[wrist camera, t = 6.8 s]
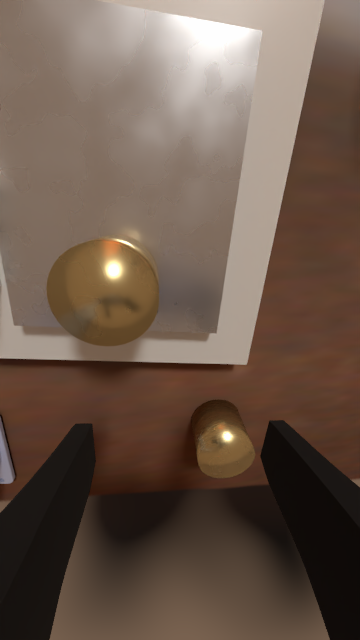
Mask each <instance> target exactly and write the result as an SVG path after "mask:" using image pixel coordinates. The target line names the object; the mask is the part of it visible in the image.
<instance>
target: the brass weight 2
mask: <svg viewBox="0 0 360 640" xmlns="http://www.w3.org/2000/svg"><path fill="white" fill-rule="evenodd" d="M191 423H192V429H193V435H194V441H195V447H196V453H197V459H198V465H199V467H200V469H201V470H202V472H204V473H205V474H206V475H208V476H211V477H215V478H228V477H233V476H236V475H238V474H240V473H242V472H244V471H245V470H246V469H247V468H248V467H249V466H250V465H251V464H252V462H253V460H254V457H255V450H254V448H253V445H252V443H251V441H250V438H249V436H248V433H247V431H246V429H245V426H244V424H243V422H242V419H241V417H240V414H239V412H238V410H237V408H236V407H235V406H234V405H233V404H232V403H230V402H228V401H225V400H211V401H208V402H205V403H203V404H202V405H200V406H199V407H198V408H197V409H196V410H195V411H194V413H193V415H192V419H191Z"/></svg>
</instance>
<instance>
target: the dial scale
mask: <svg viewBox="0 0 360 640" xmlns="http://www.w3.org/2000/svg"><path fill="white" fill-rule="evenodd" d="M97 1H103V2H108V3H114V4H119V5H124V6H130V7H135V8H141V9H146V10H152V11H157V12H163V13H168V14H174V15H179V16H185V17H190V18H195V19H201V20H206V21H212V22H217V23H223V24H228V25H234V26H239V27H245V28H250V29H256V30H261V31H262V38H261V44H260V51H259V57H258V64H257V70H256V77H255V84H254V90H253V97H252V103H251V110H250V117H249V123H248V130H247V136H246V143H245V149H244V156H243V163H242V169H241V176H240V182H239V189H238V195H237V202H236V209H235V215H234V222H233V228H232V235H231V242H230V248H229V255H228V261H227V268H226V274H225V281H224V288H223V294H222V301H221V307H220V314H219V321H218V327H217V334H216V333H191V332H166V331H146V332H145V333H144V334H143V335H141V336H140V337H138V338H137V339H135V340H133V341H131V342H129V343H126V344H123V345H118V346H98V345H93V344H89V343H86V342H84V341H82V340H80V339H78V338H76V337H74V336H73V335H71V334H70V333H69V332H67V331H66V330H65V329H64V328H63V327H39V326H14V323H13V318H12V313H11V307H10V302H9V296H8V291H7V286H6V280H5V275H4V270H3V264H2V259H1V254H0V358H10V359H49V360H88V361H127V362H166V363H205V364H245V365H247V361H248V356H249V352H250V347H251V342H252V338H253V333H254V328H255V324H256V319H257V314H258V310H259V305H260V300H261V296H262V291H263V286H264V282H265V277H266V272H267V268H268V263H269V258H270V254H271V249H272V244H273V240H274V235H275V230H276V226H277V221H278V216H279V212H280V207H281V202H282V197H283V193H284V188H285V183H286V179H287V174H288V169H289V165H290V160H291V155H292V151H293V146H294V141H295V137H296V132H297V127H298V123H299V118H300V113H301V109H302V104H303V99H304V95H305V90H306V85H307V81H308V76H309V71H310V67H311V62H312V57H313V53H314V48H315V43H316V39H317V34H318V29H319V25H320V20H321V15H322V11H323V6H324V1H325V0H97Z"/></svg>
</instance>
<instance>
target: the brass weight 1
mask: <svg viewBox="0 0 360 640" xmlns="http://www.w3.org/2000/svg"><path fill="white" fill-rule="evenodd" d="M46 290H47V299H48V303H49V306H50V309H51V311H52V313H53V315H54V317H55V318H56V320H57V321H58V322H59V324H60V325H61V326H62V327H63V328H64V329H65V330H66V331H67V332H69V333H70V334H71V335H73V336H74V337H76V338H78V339H80V340H82V341H84V342H86V343H89V344H93V345H98V346H118V345H123V344H126V343H129V342H131V341H133V340H135V339H137V338H138V337H140V336H141V335H143V334H144V333H145V332H146V331H147V330H148V328H149V327H150V326H151V325H152V323H153V321H154V319H155V317H156V315H157V311H158V307H159V273H158V268H157V264H156V262H155V259H154V258H153V256H152V254H151V253H150V252H149V250H148V249H147V248H146V247H145V246H144V245H143V244H141V243H140V242H138V241H137V240H135V239H133V238H130V237H128V236H124V235H106V236H103V237H99V238H96V239H93V240H90V241H87V242H84V243H81V244H78V245H76V246H74V247H71V248H70V249H68V250H67V251H65V252H64V253H63V254H62V255H60V256H59V258H58V259H57V260H56V261H55V263H54V264H53V266H52V268H51V270H50V272H49V275H48V279H47V287H46Z"/></svg>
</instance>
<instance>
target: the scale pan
mask: <svg viewBox="0 0 360 640" xmlns="http://www.w3.org/2000/svg"><path fill="white" fill-rule="evenodd" d="M261 38H262V31H261V30H256V29H250V28H245V27H239V26H234V25H228V24H223V23H217V22H212V21H206V20H201V19H195V18H190V17H185V16H179V15H174V14H168V13H163V12H157V11H152V10H146V9H141V8H135V7H130V6H124V5H119V4H114V3H108V2H103V1H97V0H0V254H1V259H2V264H3V270H4V275H5V280H6V286H7V291H8V296H9V302H10V307H11V313H12V318H13V323H14V326H39V327H62V326H61V325H60V324H59V322H58V321H57V320H56V318H55V317H54V315H53V313H52V311H51V309H50V306H49V303H48V299H47V290H46V287H47V279H48V275H49V272H50V270H51V268H52V266H53V264H54V263H55V261H56V260H57V259H58V258H59V256H60V255H62V254H63V253H64V252H65V251H67V250H68V249H70V248H71V247H74V246H76V245H78V244H81V243H84V242H87V241H90V240H93V239H96V238H99V237H103V236H106V235H124V236H128V237H130V238H133V239H135V240H137V241H138V242H140V243H141V244H143V245H144V246H145V247H146V248H147V249H148V250H149V252H150V253H151V254H152V256H153V258H154V259H155V262H156V264H157V268H158V273H159V307H158V311H157V315H156V317H155V319H154V321H153V323H152V325H151V326H150V327H149V328H148V330H147V331H166V332H191V333H216V334H217V327H218V321H219V314H220V307H221V301H222V294H223V288H224V281H225V274H226V268H227V261H228V255H229V248H230V242H231V235H232V228H233V222H234V215H235V209H236V202H237V195H238V189H239V182H240V176H241V169H242V163H243V156H244V149H245V143H246V136H247V130H248V123H249V117H250V110H251V103H252V97H253V90H254V84H255V77H256V70H257V64H258V57H259V51H260V44H261Z"/></svg>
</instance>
